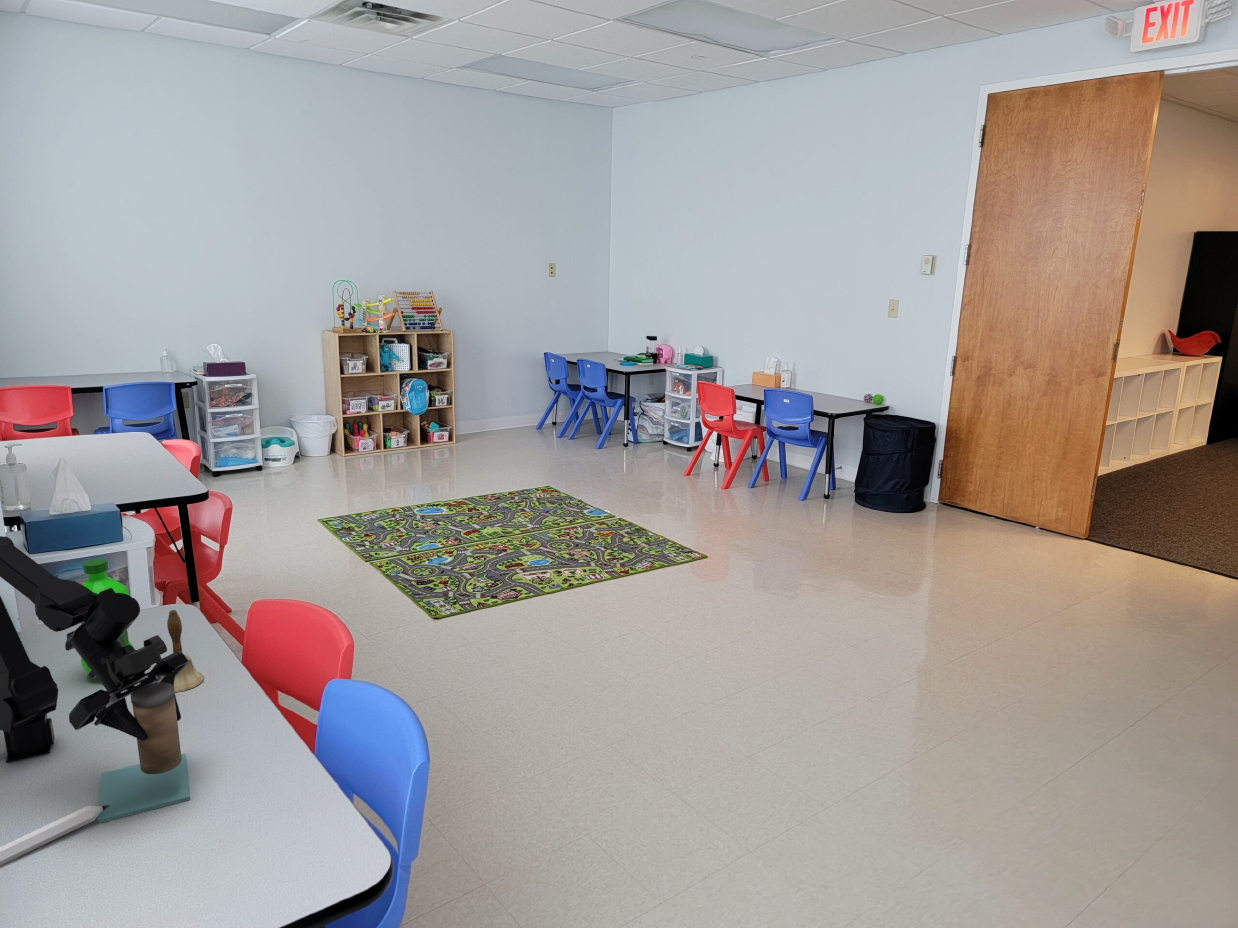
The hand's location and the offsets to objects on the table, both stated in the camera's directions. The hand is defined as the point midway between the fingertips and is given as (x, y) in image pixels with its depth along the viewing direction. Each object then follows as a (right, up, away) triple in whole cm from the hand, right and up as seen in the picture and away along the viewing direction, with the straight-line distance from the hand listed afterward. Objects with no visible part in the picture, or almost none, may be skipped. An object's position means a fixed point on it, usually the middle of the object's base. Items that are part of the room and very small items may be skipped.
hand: (163, 729), depth 140 cm
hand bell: (-17, -3, +39) cm, 43 cm away
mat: (-5, -11, +4) cm, 13 cm away
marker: (-12, -14, -8) cm, 20 cm away
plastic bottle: (-33, -2, +43) cm, 54 cm away
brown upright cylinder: (-1, -6, +2) cm, 7 cm away
